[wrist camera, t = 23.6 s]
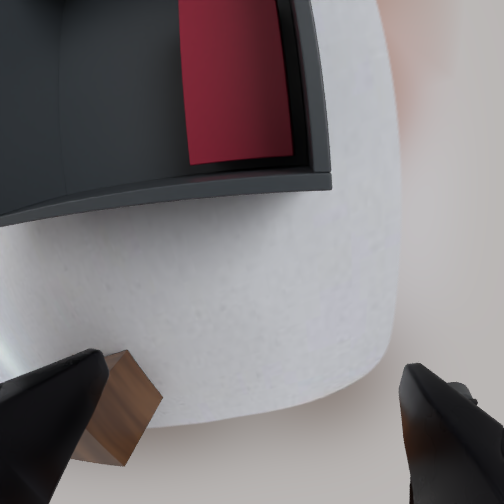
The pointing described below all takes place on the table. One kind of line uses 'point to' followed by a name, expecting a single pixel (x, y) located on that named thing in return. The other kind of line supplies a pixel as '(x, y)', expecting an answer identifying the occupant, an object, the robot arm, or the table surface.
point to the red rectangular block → (234, 81)
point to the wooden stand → (119, 414)
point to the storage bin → (130, 111)
